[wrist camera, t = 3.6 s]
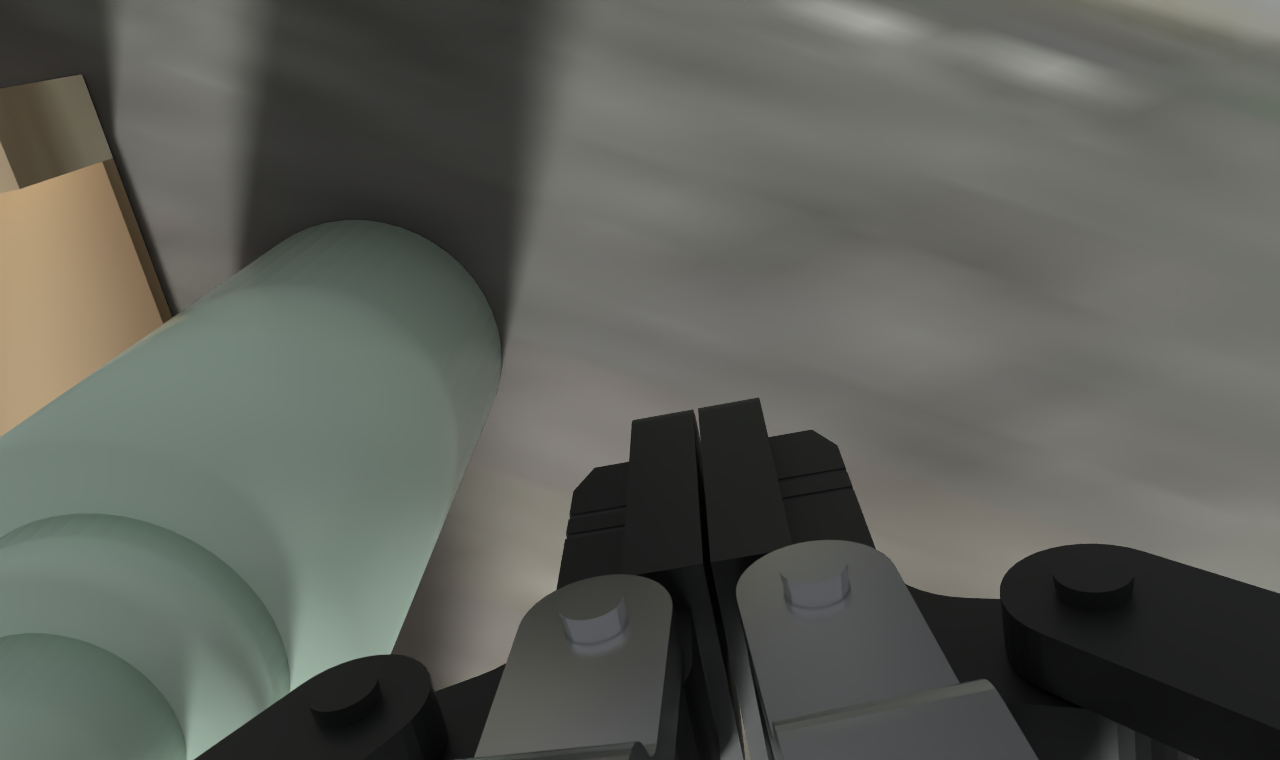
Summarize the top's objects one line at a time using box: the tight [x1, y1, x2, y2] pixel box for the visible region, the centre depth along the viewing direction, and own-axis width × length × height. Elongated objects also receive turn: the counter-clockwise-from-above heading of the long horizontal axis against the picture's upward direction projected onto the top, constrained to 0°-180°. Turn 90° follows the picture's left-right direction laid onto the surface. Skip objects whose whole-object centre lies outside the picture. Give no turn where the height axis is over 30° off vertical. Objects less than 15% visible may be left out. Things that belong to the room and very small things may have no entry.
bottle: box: [0, 220, 502, 760], centre depth 14 cm, size 5×5×15 cm
